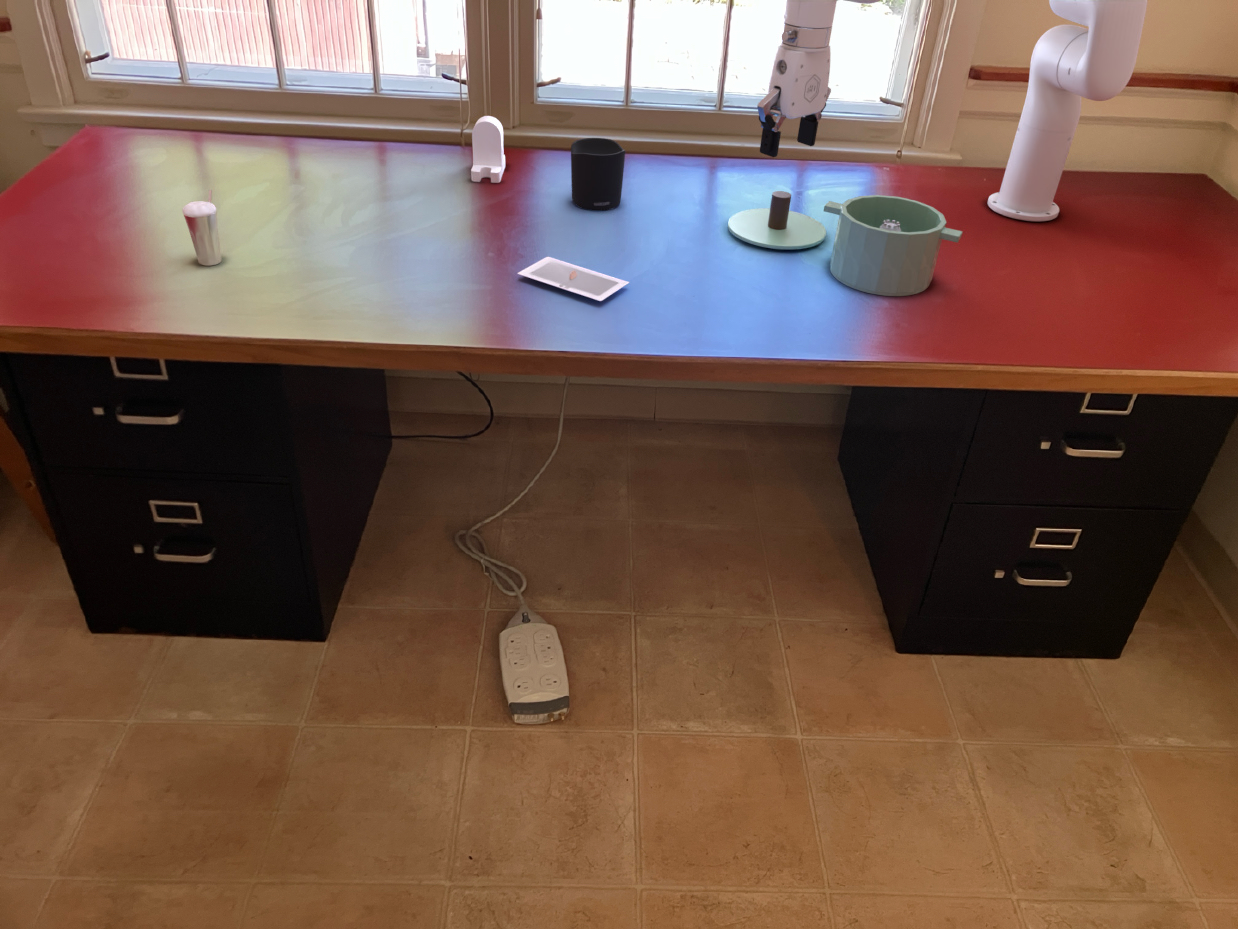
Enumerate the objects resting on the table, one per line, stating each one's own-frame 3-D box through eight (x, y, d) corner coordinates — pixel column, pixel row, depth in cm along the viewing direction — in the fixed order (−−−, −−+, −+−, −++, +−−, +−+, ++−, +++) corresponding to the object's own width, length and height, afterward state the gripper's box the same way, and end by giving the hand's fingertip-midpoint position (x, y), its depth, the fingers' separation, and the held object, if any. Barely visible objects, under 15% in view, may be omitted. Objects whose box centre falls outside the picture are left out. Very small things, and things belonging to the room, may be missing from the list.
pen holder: (561, 206, 170) (561, 149, 165) (582, 189, 178) (584, 134, 172) (610, 216, 168) (613, 158, 162) (630, 198, 175) (633, 143, 169)
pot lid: (750, 207, 174) (754, 170, 170) (838, 228, 168) (845, 190, 164) (711, 237, 162) (715, 198, 158) (805, 261, 156) (811, 221, 152)
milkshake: (236, 256, 147) (223, 192, 142) (213, 269, 143) (199, 204, 137) (211, 251, 149) (197, 187, 143) (187, 264, 144) (172, 199, 139)
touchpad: (547, 262, 151) (547, 249, 150) (629, 288, 145) (629, 275, 144) (516, 280, 145) (516, 266, 144) (600, 308, 139) (601, 294, 138)
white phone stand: (505, 164, 186) (504, 111, 180) (499, 182, 178) (498, 127, 172) (478, 163, 186) (476, 110, 180) (471, 181, 178) (468, 126, 172)
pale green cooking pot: (832, 242, 163) (843, 184, 157) (957, 273, 155) (973, 213, 149) (800, 275, 152) (810, 213, 146) (933, 310, 144) (949, 246, 138)
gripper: (789, 48, 140) (771, 165, 150) (858, 34, 150) (837, 145, 160) (749, 37, 144) (734, 152, 154) (819, 25, 154) (801, 134, 164)
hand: (787, 149), depth 157 cm, fingers open, 9 cm apart
